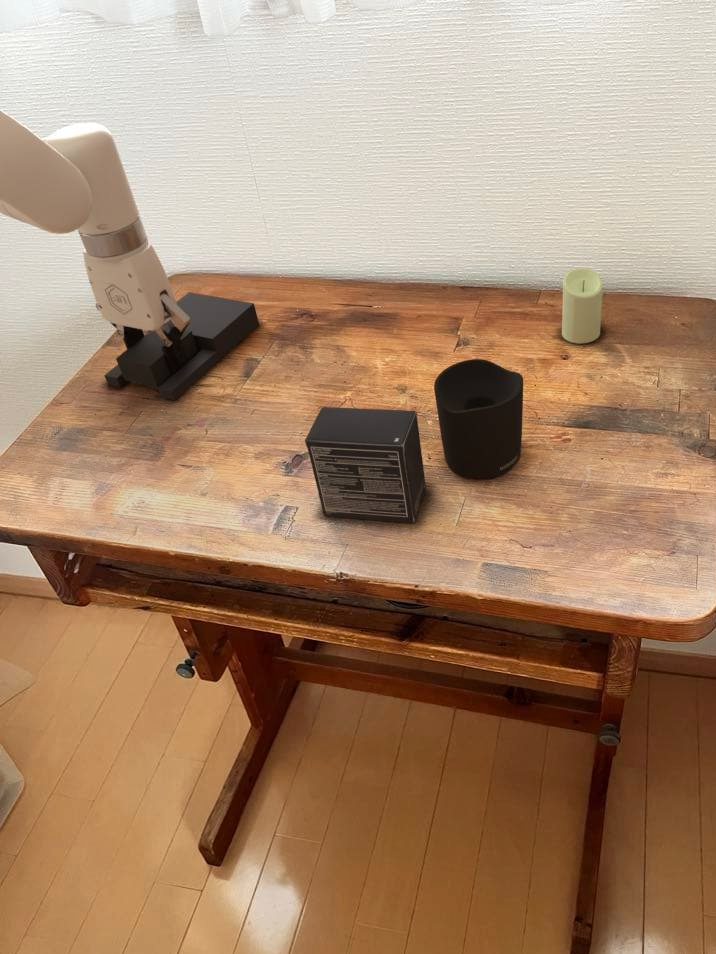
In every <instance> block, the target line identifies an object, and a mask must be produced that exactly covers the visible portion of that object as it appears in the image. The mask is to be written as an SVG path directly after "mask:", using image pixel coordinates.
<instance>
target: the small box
mask: <svg viewBox="0 0 716 954" xmlns="http://www.w3.org/2000/svg"><path fill="white" fill-rule="evenodd" d="M418 421H419V420H418V413H417V411H416V410H409V409H408V410H407V409H406V410H404V409H383V408H360V407H359V408H358V407H335V406H322V407H321V408H320V410H319V412H318V414H317V416H316V418H315V420H314V422H313V423H312V425H311V427H310V429H309V431H308V433H307V435H306V438H305V439H304V442H305V445H306V448H307V452H308V455H309V459H310V464H311V468H312V471H313V476H314V477H313V478H314V481H315V484H316V489H317V493H318V498H319V501H320V505H321V512H322V515H323V517H330V518H331V517H333V518H342V519H344V518H345V519H355V520H356V519H358V520H369V521H382V522H383V521H384V522H394V523H396V522H397V523H408V524H414V523H416V521H417V519H418V514H419V510H420V508H421V505H422V502H423V498H424V497H425V493H426V489H427V484H426V477H425V471H424V470H425V469H424V461H423V454H422V447H421V446H422V445H421V438H420V429H419V422H418Z"/></svg>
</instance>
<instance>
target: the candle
mask: <svg viewBox="0 0 716 954" xmlns="http://www.w3.org/2000/svg"><path fill="white" fill-rule="evenodd" d="M603 290H604V281H603V279H602V277H601V276H600V275H599V273H597V272H596V271H594V270H593V269H590V268H587V267H577V268H573V269H570V271H568V272H567V273H565V275H564V276H563V280H562V311H561V313H562V314H561V336H562V338H563V339H564V340H566V341H567V342H570V343H573V344H577V345H578V344H579V345H581V344H583V345H584V344H589V343H591V342H594V341H595V340H597V339H598V338H599V337H600V336H601V324H602V323H601V322H602V307H603V294H604V292H603Z"/></svg>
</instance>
